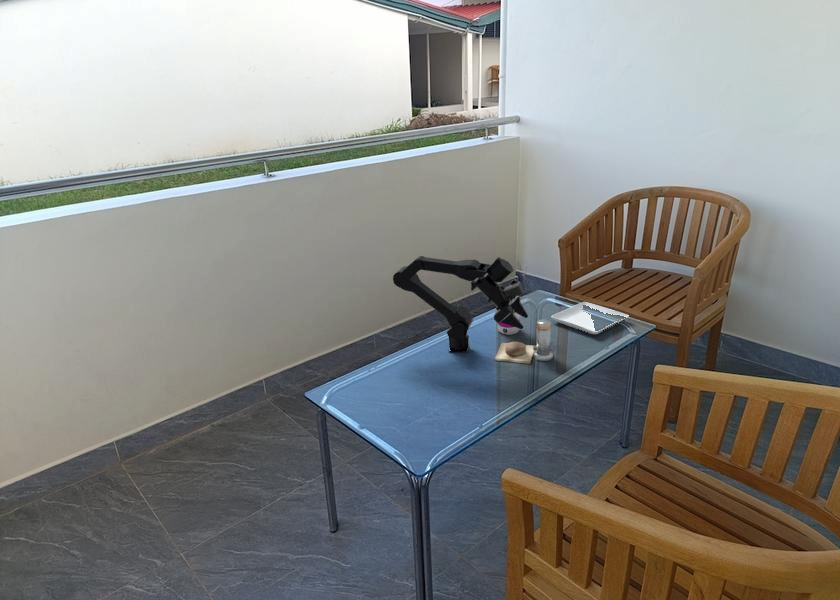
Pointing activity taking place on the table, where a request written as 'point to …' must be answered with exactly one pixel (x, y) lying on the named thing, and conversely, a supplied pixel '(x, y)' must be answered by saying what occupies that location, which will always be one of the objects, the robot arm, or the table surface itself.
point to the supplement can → (508, 327)
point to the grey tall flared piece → (543, 341)
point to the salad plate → (584, 317)
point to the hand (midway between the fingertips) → (525, 322)
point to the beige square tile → (515, 352)
